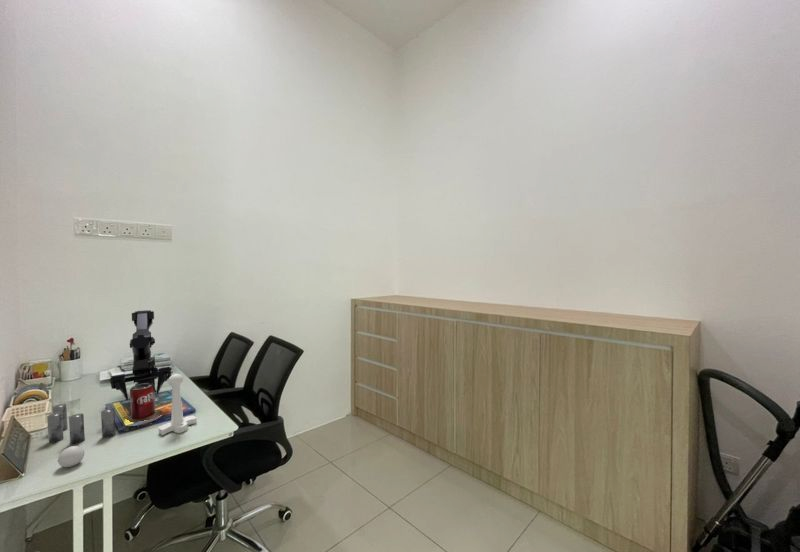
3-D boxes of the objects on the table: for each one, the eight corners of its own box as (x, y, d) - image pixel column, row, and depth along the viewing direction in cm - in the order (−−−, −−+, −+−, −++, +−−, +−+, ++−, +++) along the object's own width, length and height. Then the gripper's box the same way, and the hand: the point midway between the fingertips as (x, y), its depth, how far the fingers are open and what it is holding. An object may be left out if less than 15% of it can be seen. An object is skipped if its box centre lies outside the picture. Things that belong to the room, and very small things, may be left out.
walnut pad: (157, 409, 133) (157, 406, 133) (167, 417, 126) (166, 415, 126) (120, 420, 124) (119, 418, 124) (127, 430, 116) (127, 427, 116)
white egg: (90, 459, 99) (89, 441, 99) (72, 471, 94) (71, 452, 94) (65, 460, 99) (64, 442, 99) (45, 472, 94) (44, 453, 93)
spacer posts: (62, 427, 119) (61, 403, 119) (118, 433, 115) (117, 408, 114) (30, 440, 110) (28, 415, 110) (89, 448, 106) (87, 421, 105)
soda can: (159, 412, 129) (158, 382, 128) (145, 421, 121) (143, 389, 121) (142, 412, 129) (140, 382, 128) (126, 421, 121) (124, 389, 121)
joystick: (192, 420, 124) (190, 368, 123) (200, 426, 119) (198, 372, 118) (157, 432, 115) (154, 377, 114) (164, 439, 110) (162, 382, 109)
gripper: (109, 355, 122) (107, 393, 114) (169, 347, 133) (171, 381, 125) (112, 370, 129) (111, 407, 121) (170, 361, 140) (172, 394, 132)
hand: (142, 396), depth 124 cm, fingers open, 9 cm apart
